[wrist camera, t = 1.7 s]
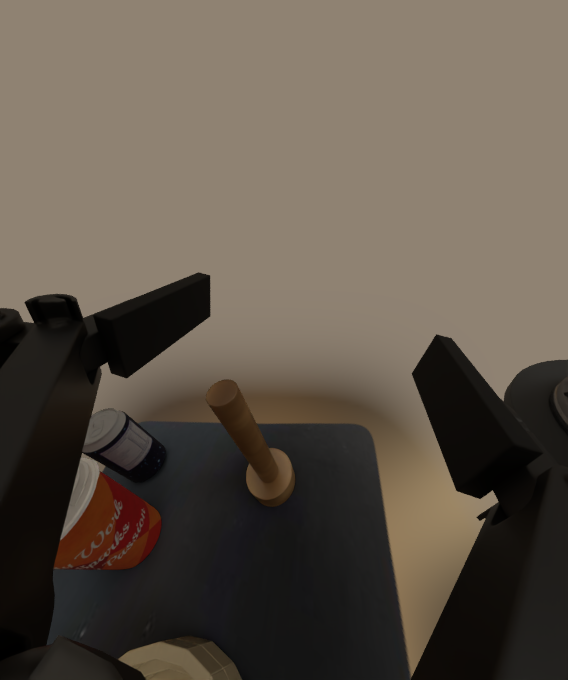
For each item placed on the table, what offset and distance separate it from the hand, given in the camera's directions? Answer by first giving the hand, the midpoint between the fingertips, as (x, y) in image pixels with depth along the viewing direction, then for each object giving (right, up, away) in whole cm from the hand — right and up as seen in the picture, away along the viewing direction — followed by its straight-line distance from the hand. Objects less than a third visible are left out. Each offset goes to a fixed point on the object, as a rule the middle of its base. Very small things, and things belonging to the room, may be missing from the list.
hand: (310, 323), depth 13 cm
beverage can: (-23, -21, +22) cm, 38 cm away
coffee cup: (-20, -26, +15) cm, 36 cm away
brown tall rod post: (-3, -20, +17) cm, 27 cm away
